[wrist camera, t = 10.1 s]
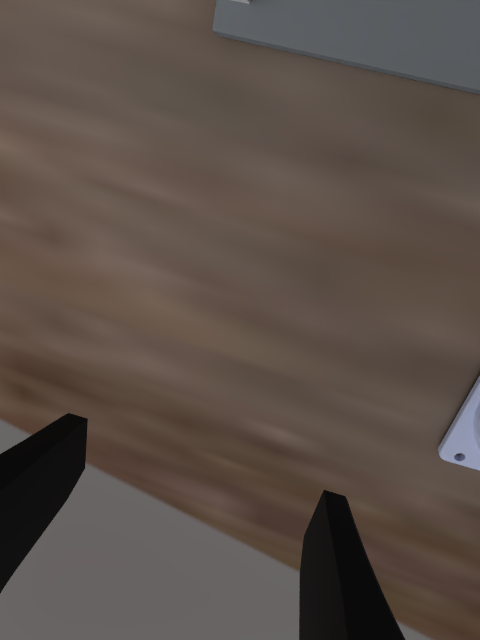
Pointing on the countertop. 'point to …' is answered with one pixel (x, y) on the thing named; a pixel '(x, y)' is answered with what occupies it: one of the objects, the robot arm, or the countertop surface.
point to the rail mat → (367, 34)
